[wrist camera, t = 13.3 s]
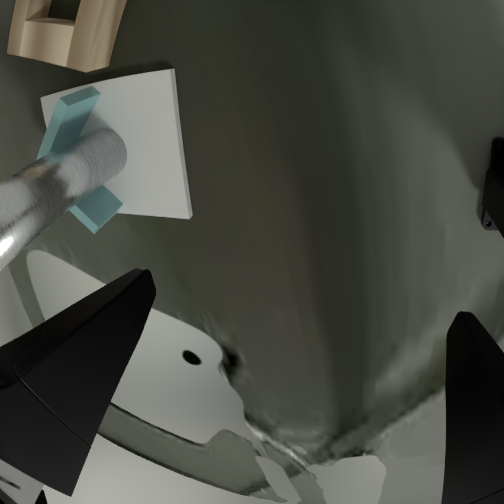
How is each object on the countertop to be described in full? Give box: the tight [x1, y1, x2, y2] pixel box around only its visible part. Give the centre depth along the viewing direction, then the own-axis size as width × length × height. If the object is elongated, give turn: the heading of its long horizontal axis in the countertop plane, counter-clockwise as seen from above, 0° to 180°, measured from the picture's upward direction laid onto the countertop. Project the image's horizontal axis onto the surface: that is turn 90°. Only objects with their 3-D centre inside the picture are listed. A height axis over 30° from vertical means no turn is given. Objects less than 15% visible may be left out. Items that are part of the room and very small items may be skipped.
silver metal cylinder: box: [0, 127, 127, 271], centre depth 16 cm, size 4×4×15 cm
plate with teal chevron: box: [37, 68, 193, 234], centre depth 21 cm, size 13×11×4 cm
